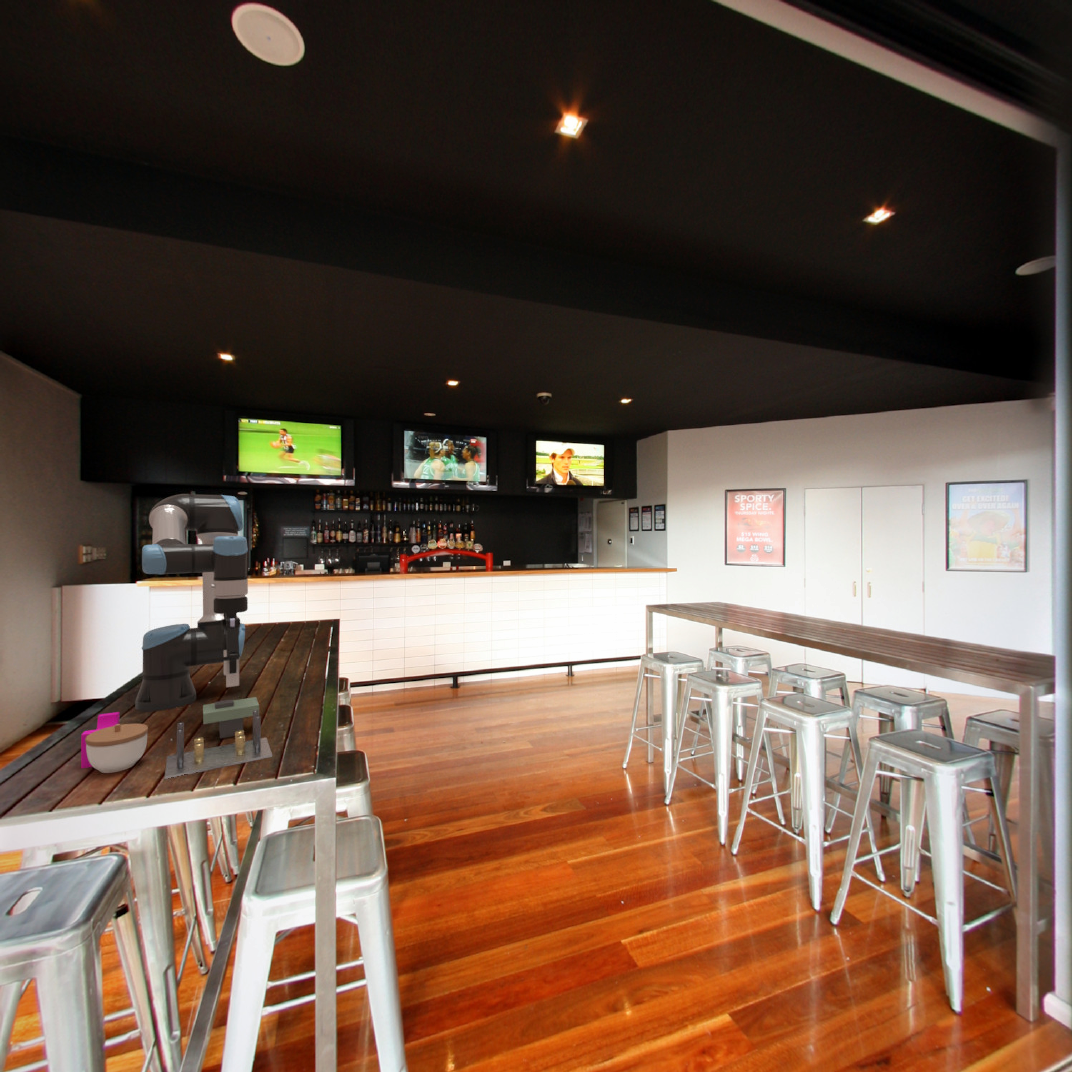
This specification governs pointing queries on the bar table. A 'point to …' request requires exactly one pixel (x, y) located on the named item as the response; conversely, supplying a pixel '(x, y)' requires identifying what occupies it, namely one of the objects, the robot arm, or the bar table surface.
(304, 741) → the bar table surface
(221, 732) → the dark grey cube
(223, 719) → the board
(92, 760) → the lidded jar
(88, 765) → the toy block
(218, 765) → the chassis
